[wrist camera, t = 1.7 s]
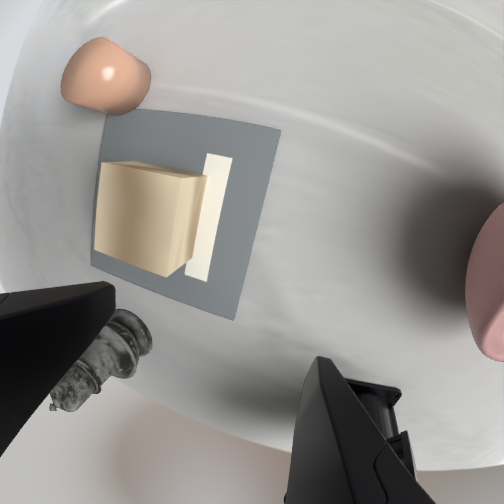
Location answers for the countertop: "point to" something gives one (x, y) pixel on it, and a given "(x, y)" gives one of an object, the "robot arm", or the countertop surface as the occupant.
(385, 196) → the countertop surface
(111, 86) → the terracotta cylinder
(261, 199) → the letter mat
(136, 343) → the salt shaker
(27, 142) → the countertop surface
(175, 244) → the maple block
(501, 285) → the mortar and pestle
